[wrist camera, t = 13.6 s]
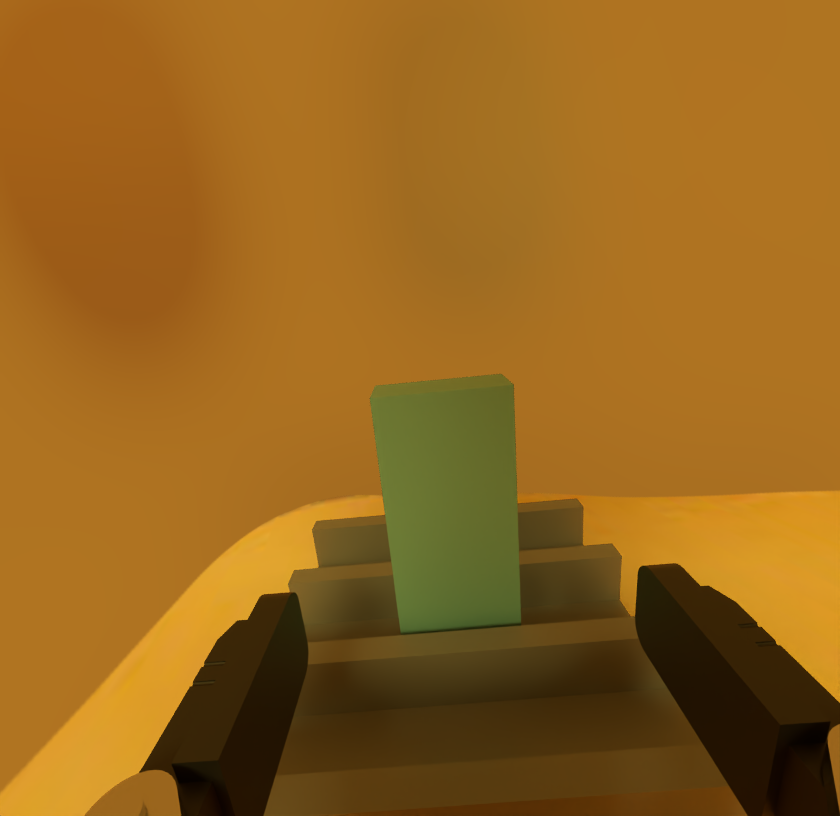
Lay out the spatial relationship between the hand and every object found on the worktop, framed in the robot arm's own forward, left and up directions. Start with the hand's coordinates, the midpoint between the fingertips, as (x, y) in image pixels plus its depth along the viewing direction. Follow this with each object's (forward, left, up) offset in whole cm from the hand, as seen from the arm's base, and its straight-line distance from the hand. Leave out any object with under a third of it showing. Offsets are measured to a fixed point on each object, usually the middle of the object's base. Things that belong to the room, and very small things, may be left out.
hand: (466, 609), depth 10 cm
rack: (0, -7, -9) cm, 11 cm away
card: (0, -7, -8) cm, 11 cm away
